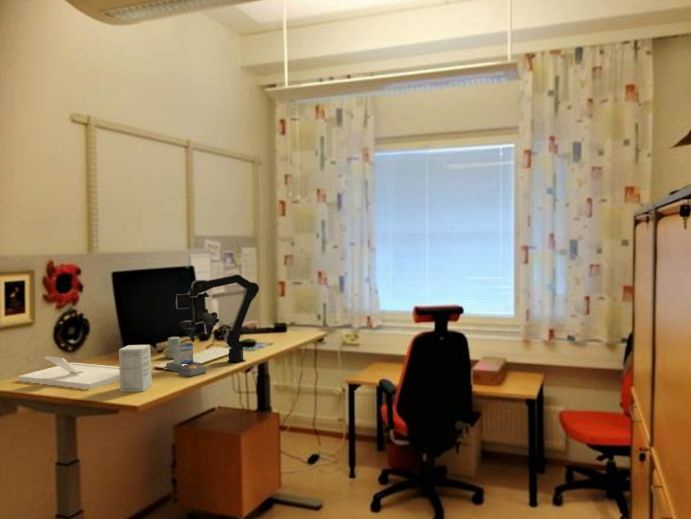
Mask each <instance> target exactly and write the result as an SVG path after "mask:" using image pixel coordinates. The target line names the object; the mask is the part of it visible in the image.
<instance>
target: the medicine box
mask: <svg viewBox="0 0 691 519" xmlns="http://www.w3.org/2000/svg"><path fill="white" fill-rule="evenodd" d="M173 351H174V359H173V361H174V364H178V365H182V364H186V363H190V362H194V343H193V342H183V343H181V344H178V345H174V346H173Z"/></svg>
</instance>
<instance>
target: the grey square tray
mask: <svg viewBox="0 0 691 519" xmlns="http://www.w3.org/2000/svg"><path fill="white" fill-rule="evenodd" d="M186 364H187V365H184V366H182V365H178V364H174V360H173V361H170V362H166V366H163V367H164V368H167V369H171V370H173V372H176V371H177V372H176V373H179V368H181V367H185V366H190V365H199V366H203V365H201V362H197V361H193V362H190V363H186ZM167 369H166V370H167ZM171 370H170V371H171Z"/></svg>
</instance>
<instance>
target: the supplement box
mask: <svg viewBox="0 0 691 519" xmlns="http://www.w3.org/2000/svg"><path fill="white" fill-rule="evenodd" d="M151 356H152V355H151V345H150V344H133V345H132V344H128V345H126V346H124V347H122V348H120V349H118V364H119V365H118V367H119V370H120V380H119V388H120V389H119V391H120V392H121V393H123V392H125V393H126V392H127V393H129V392H130V393H131V392H134V393H135V392H138V393H139V392H144V391H147V390H148V389H149V388H150V387H152V386H153V382H152V381H153V380H152V379H153V378H152V361H151V360H152V358H151Z"/></svg>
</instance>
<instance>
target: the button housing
mask: <svg viewBox="0 0 691 519" xmlns="http://www.w3.org/2000/svg"><path fill="white" fill-rule="evenodd" d="M190 366H197V368H193V369H189V368H188V367H189V366H185V367H181V368H179V372H178V375H179V376H182V377H188V378H193V377H197V376H202V375H206V373H207V372H206V371H207V368H206V366H204V365H202V366H199V365H190Z"/></svg>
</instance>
